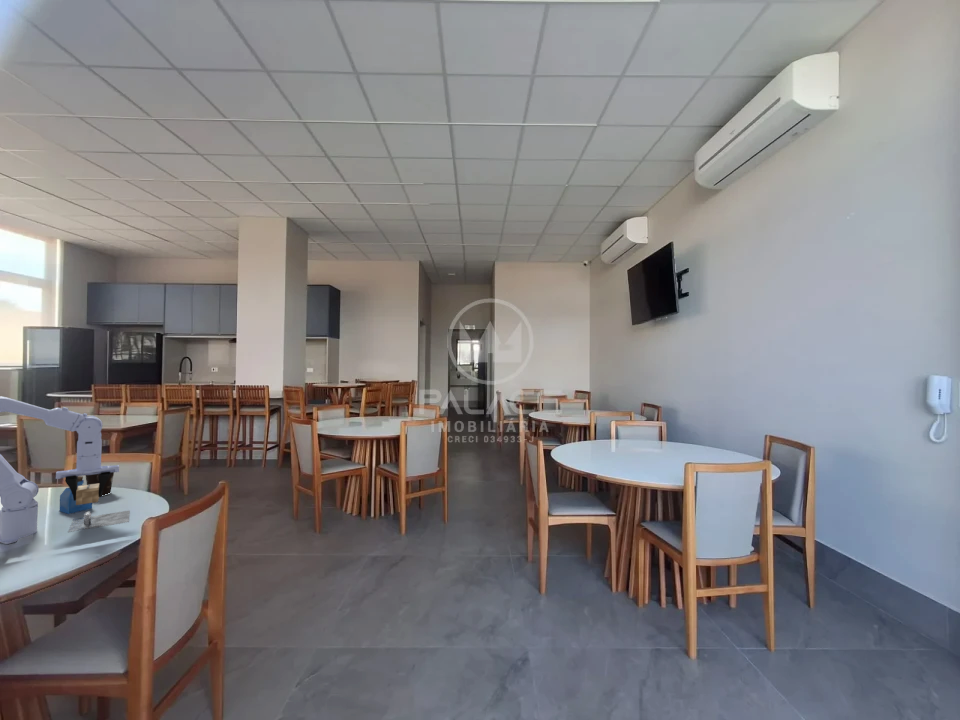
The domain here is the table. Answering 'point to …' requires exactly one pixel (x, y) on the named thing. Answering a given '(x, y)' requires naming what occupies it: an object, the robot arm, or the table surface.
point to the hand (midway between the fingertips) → (88, 497)
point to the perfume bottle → (72, 500)
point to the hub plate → (98, 520)
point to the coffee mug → (95, 479)
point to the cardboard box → (87, 494)
